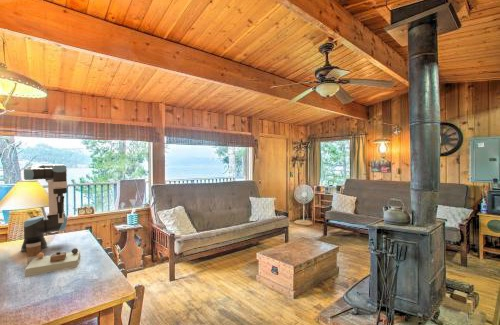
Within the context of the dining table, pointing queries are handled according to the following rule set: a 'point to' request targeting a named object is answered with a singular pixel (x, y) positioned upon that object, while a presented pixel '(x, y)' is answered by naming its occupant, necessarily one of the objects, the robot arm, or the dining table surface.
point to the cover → (58, 256)
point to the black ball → (74, 250)
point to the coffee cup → (33, 247)
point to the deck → (52, 264)
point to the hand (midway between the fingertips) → (61, 222)
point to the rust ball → (40, 255)
